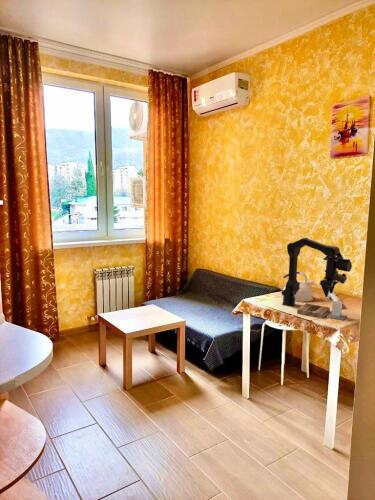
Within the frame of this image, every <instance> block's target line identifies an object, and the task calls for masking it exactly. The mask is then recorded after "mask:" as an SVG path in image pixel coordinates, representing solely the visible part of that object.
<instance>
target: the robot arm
mask: <svg viewBox="0 0 375 500" xmlns="http://www.w3.org/2000/svg"><path fill="white" fill-rule="evenodd" d="M305 246H306V247H309V248H312V249H314V250H316V251H319V252H321V253H322V254H324V255H325V257H323V258H322V260H323V261H326V264H325V270H324V273H325V275H324V277H323V279H321V280H320V281H319V286H320V287H321V288H322V292H323V293H324V297H326V298H327V297H328V294H329V291H330V293H331V294H332V292H333V291H334V289H335V286H336V285H337V284H338V283H340V284H341V285H342V284H345V283H346V281H347V279H348V277H347V274H346V273H345V272H347V273H348V272H351V270H352V266H353V265H352V262H351V259H349V258H346V259H345V258H344V257H343V255H342V253H341V249H340V248H339V247H338V246H335V245H327V244H323V243H320V242H318V241H316V240H313V239H310V238H308V237H303V238H301V239H299V240H296V241H294V242H290V243H288V244H287V246H286V251H287V254H288V256H289V261H288V262H289V263H288V274H289V276H288V279H287V281H286V283H285V286H286V287H285V286H284V287H285V289H284V288H283V289H284V290H281V292H280V293H281V296H282V295H283V297H282V298H283V299H282V303H281V305H284V306H288V307H292V306H295V305H296V301H295V298H294V297H295V295H296V293H297V292H298V291H299V289H300V282H297V281H298V279H297V278H298V276H297V275H298V274H297V272H298V258H299V255H300V253H301V249H302V248H304V247H305ZM339 271H341V272H342V271H343V272H344V273H342V274H341V273H339Z"/></svg>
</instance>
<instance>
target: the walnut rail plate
mask: <svg viewBox="0 0 375 500" xmlns="http://www.w3.org/2000/svg"><path fill="white" fill-rule="evenodd" d="M330 309H331V307H329V306H322V305H317V304H312V303H305V304H303V305H302V306H300V307H299V308H297V312H296V314H299V315H301V316H302V315H303V316H308V317H313V318H318V319H323V318H324V317H325V316H327V315H328V314H329V313H331V312H330V311H331V310H330ZM312 310H315V311H312Z"/></svg>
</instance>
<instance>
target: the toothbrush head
mask: <svg viewBox="0 0 375 500" xmlns="http://www.w3.org/2000/svg"><path fill="white" fill-rule="evenodd" d="M326 299H327V300H330V301H333V302H334V301H338V302H342V309H343V308H344V306H345V305H344V304H343V301H342V300H341V299H340V298H338V296H337V295H336V294H335V291H334V290H333V292H332V294H331V293H330V291H329V294H328V297H326Z"/></svg>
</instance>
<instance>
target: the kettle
mask: <svg viewBox="0 0 375 500" xmlns="http://www.w3.org/2000/svg"><path fill="white" fill-rule="evenodd" d="M297 275H302V276H303V277H304V281H302V280H297V282H300V289H299V291H298V292H297V293H296V295H295V297H294V298H295V302H299V303H300V302H302V303H303V302H310V301H313V299H314V295H313V291H312V288H311V287H312V286H313V285H315V283H314V280H312V279H310V281H308V277H307V275H306V273H304V272H301V271H297ZM287 277H289V273H287V274H285V275H283V276H282V278H283V279H286V278H287ZM285 287H286V285H285V286H284V287H283V290H284V289H285ZM283 290H282V291H283ZM281 297H282V298H283V295H282V294H281Z"/></svg>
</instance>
